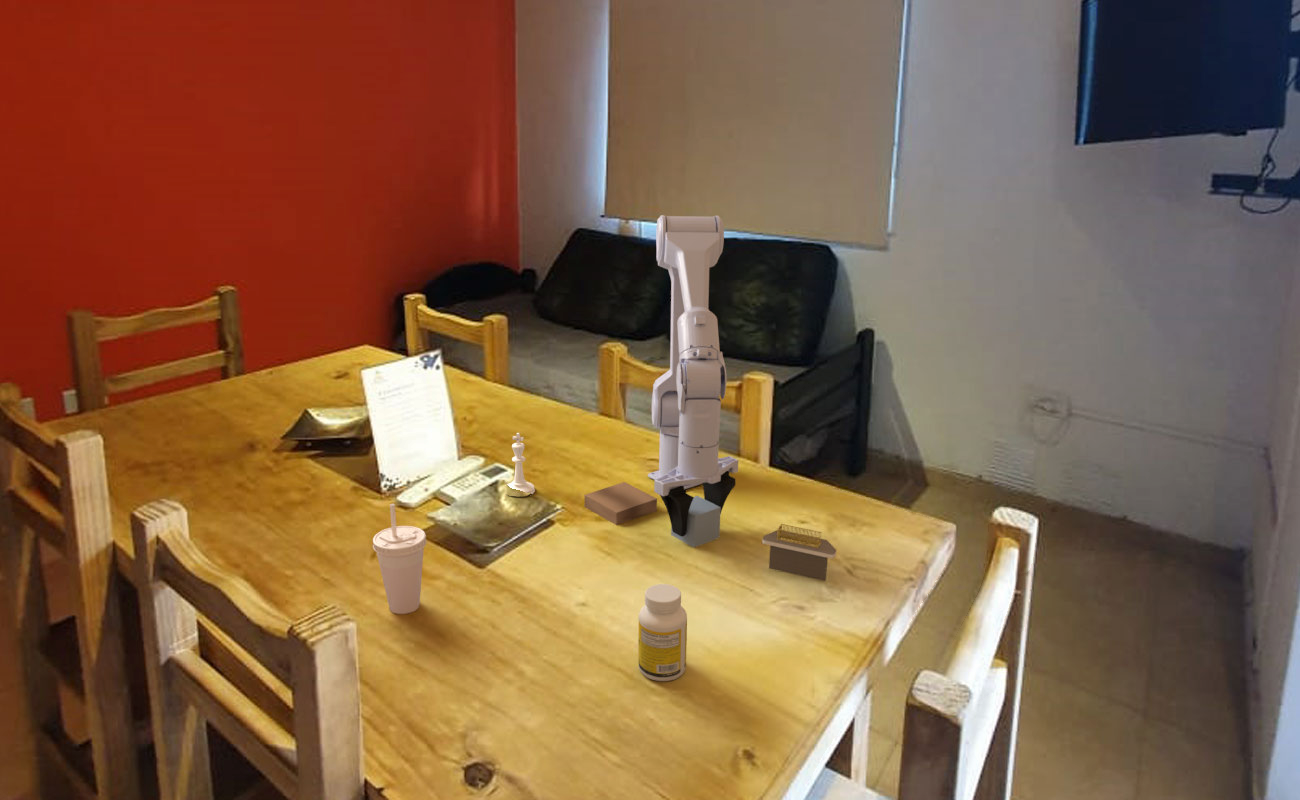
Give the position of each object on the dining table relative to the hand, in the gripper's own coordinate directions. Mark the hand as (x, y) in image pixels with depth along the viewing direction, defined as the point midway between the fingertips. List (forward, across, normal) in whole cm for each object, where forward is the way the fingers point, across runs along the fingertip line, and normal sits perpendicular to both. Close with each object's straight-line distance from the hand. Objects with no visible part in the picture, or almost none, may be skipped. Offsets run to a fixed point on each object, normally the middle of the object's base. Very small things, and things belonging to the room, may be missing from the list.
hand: (695, 527), depth 137 cm
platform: (+2, +4, -16) cm, 17 cm away
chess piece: (+2, -12, +29) cm, 31 cm away
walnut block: (+2, -3, +14) cm, 14 cm away
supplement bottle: (+2, -25, -22) cm, 33 cm away
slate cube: (+2, 0, 0) cm, 2 cm away
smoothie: (+2, -42, +8) cm, 43 cm away
